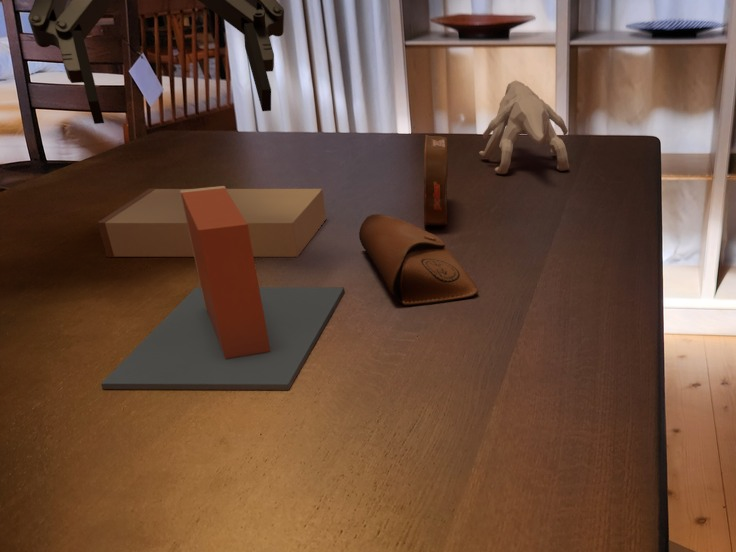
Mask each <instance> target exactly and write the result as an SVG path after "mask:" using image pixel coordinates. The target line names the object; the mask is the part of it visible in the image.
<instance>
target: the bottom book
mask: <svg viewBox="0 0 736 552" xmlns="http://www.w3.org/2000/svg"><path fill="white" fill-rule="evenodd" d="M189 189H190V188H154V187H153V188H148V189H147V190H145V191H144V192H142V193H141V194H139V195H137V196H136V197H134V198H133V199H131V200H130V201H128V202H126V203H125V204H123V205H122V206H121V207H119V208H117V209H116V210H114V211H113V212H111V213H110V214H108V215H107V216H105V217H104V218H102V219H100V220H99V221H97V226H98V230H99V234H100V237H101V241H102V244H103V249H104V253H105V256H106V258H116V257H117V258H120V257H121V258H122V257H124V258H125V257H126V258H127V257H128V258H131V257H132V258H139V257H140V258H146V257H147V258H155V257H156V258H164V257H165V258H167V257H168V258H183V257H184V258H194V254H193V249H192V244H191V240H190V235H189V231H188V226H187V222H186V217H185V212H184V208H183V203H182V199H181V194H180V190H189ZM226 191H227V192H228V194H229V195H230V197H231V199H232V200H233V202H234V203H235V205H236V207H237V208H238V210H239V211H240V213H241V215H242V216H243V218H244V219H245V221H246V223H247V224H248V229H249V235H250V240H251V246H252V251H253V257H254V258H298V257H299V256H300V254H301V253H302V252H303V251H304V249H305V248H306V247H307V245H308V244H309V243H310V241H311V240H312V239H313V237H314V236H315V235H316V234H317V232H318V231H319V230H320V228H321V227H322V226H323V225H324V223H325V222H326V221H327V214H326V208H325V207H326V206H325V199H324V190H323V188H226ZM325 220H326V221H325ZM324 221H325V222H324ZM321 225H322V226H321ZM318 229H319V230H318Z"/></svg>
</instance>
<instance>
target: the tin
mask: <svg viewBox="0 0 736 552" xmlns="http://www.w3.org/2000/svg"><path fill="white" fill-rule="evenodd" d="M423 153H424V154H423V160H424V161H423V226H424V227H428V226H433V227H434V226H435V227H443V226H447V224H448V203H447V202H448V193H447V192H448V188H447V187H448V184H447V182H448V173H449V140H448V138H447V137H446V136H440V135H439V136H438V135H428V134H425V140H424V152H423Z"/></svg>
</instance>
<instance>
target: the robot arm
mask: <svg viewBox="0 0 736 552" xmlns="http://www.w3.org/2000/svg"><path fill="white" fill-rule="evenodd" d="M68 1H69V0H34V1H33V3H32V6H31V9H30V12H29V13H28V18H27V20H28V23H29V26H30V30H31V32H32V35H33V38H34V41H35V44H36V45H37V46H39V47H40V48H49V47H50V46H53V47H56V48H58V49H59V50H60V54H61V58H62V63H63V67H64V70H65V73H66V77H67V79H68V81H69V82H70V83H71V84H79V83H83V86H84V90H85V94H86V99H87V103H88V106H89V109H90V112H91V116H92V120H93V124H94V125H98V124H105V121H104V116H103V112H102V108H101V104H100V99H99V96H98V92H97V87H96V83H95V79H94V75H93V70H92V65H91V62H90V58H89V53H88V50H87V47H86V43H85V40H86V38H87V37H88V36H89V34H90V33H91V32H92V31H93V29H94V28H95V26H96V25H98V23H99V21H100V20H101V19H102V17H104V15H105V14H106V13H107V12H108V10H109V9H110V8H111V6H112V5H113V4H114V2H119V1H120V0H71V1H70V3H69V4H68ZM198 1H199V2H200V3H201V4H203V5H204V6H205V7H207V8H208V9H209V10H211V11H212V12H213V13H214V14H215V15H217V16H219V17H220V18H221V19H222V20H224V21H225V22H226V23H228V24H229V25H231V26H232V27H233V28H234V29H236V30H237V31H238V32H240V33H241V34H242V35H243V36H244V48H245V52H246V57H247V60H248V65H249V67H250V71H251V75H252V78H253V82H254V86H255V89H256V93H257V97H258V101H259V105H260V108H261V111H262V112H271V111H272V87H271V84H270V79H269V76H268V72H274V67H275V53H274V50H273V45H272V42H271V38H270V37H272V36H273V37H281V36H283V35H284V32H285V9H284V7H283V6H282V5H281V3H280V2H279V1H277V0H198ZM67 4H68V5H67Z"/></svg>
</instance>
